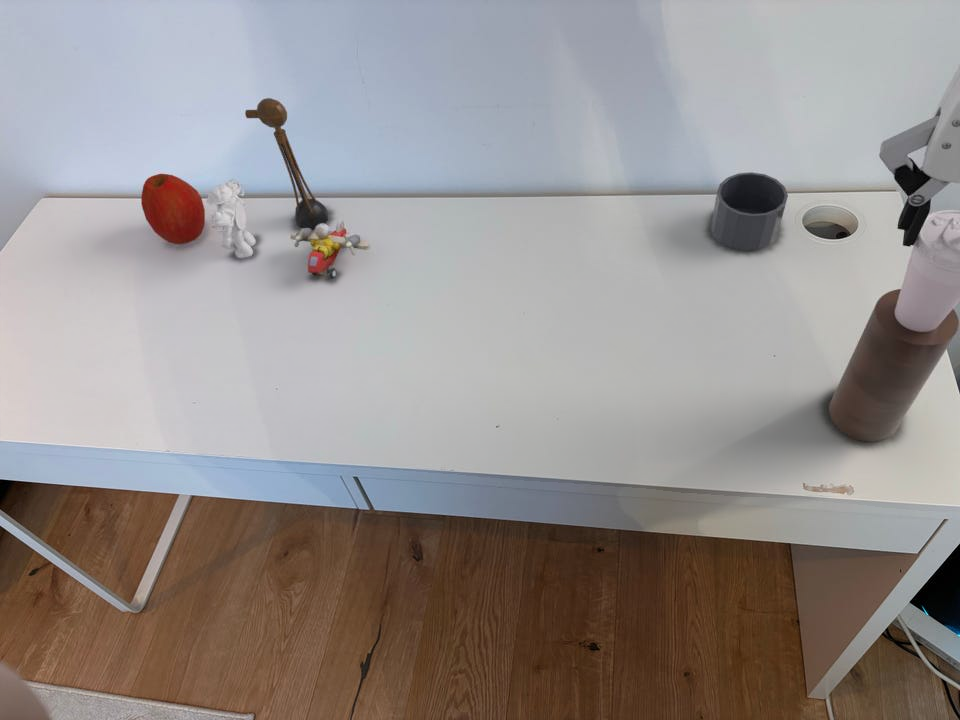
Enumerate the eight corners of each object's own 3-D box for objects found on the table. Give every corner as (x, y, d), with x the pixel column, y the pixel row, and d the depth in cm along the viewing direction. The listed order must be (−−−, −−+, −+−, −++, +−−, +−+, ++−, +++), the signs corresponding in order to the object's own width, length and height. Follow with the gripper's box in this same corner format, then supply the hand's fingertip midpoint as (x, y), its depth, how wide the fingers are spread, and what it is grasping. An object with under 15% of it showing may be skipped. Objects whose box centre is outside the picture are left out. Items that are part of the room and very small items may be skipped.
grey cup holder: (782, 214, 98) (792, 178, 93) (771, 256, 93) (781, 221, 89) (718, 203, 100) (725, 168, 96) (705, 244, 96) (711, 209, 91)
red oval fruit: (213, 210, 112) (183, 151, 104) (215, 244, 107) (183, 186, 99) (161, 223, 112) (126, 166, 103) (159, 258, 107) (123, 201, 98)
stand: (900, 398, 78) (960, 297, 66) (895, 449, 75) (958, 353, 62) (832, 382, 81) (878, 281, 68) (824, 431, 77) (871, 334, 64)
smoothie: (881, 339, 64) (943, 218, 53) (874, 287, 68) (930, 163, 57) (963, 347, 63) (1043, 223, 52) (951, 293, 66) (1023, 166, 55)
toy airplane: (316, 289, 99) (301, 255, 94) (295, 251, 104) (280, 216, 99) (377, 263, 101) (366, 228, 96) (353, 226, 106) (342, 191, 101)
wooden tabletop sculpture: (286, 229, 107) (235, 110, 92) (296, 208, 110) (248, 89, 95) (323, 230, 106) (278, 109, 91) (332, 209, 109) (290, 88, 93)
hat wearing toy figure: (252, 269, 103) (219, 202, 94) (226, 270, 103) (190, 204, 94) (266, 226, 108) (236, 159, 99) (241, 227, 109) (209, 161, 99)
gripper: (1241, 7, 43) (1081, 232, 58) (920, -15, 49) (845, 195, 63) (1265, 75, 39) (1087, 299, 54) (913, 43, 45) (834, 254, 59)
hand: (957, 241), depth 58 cm, fingers closed on smoothie, 6 cm apart
